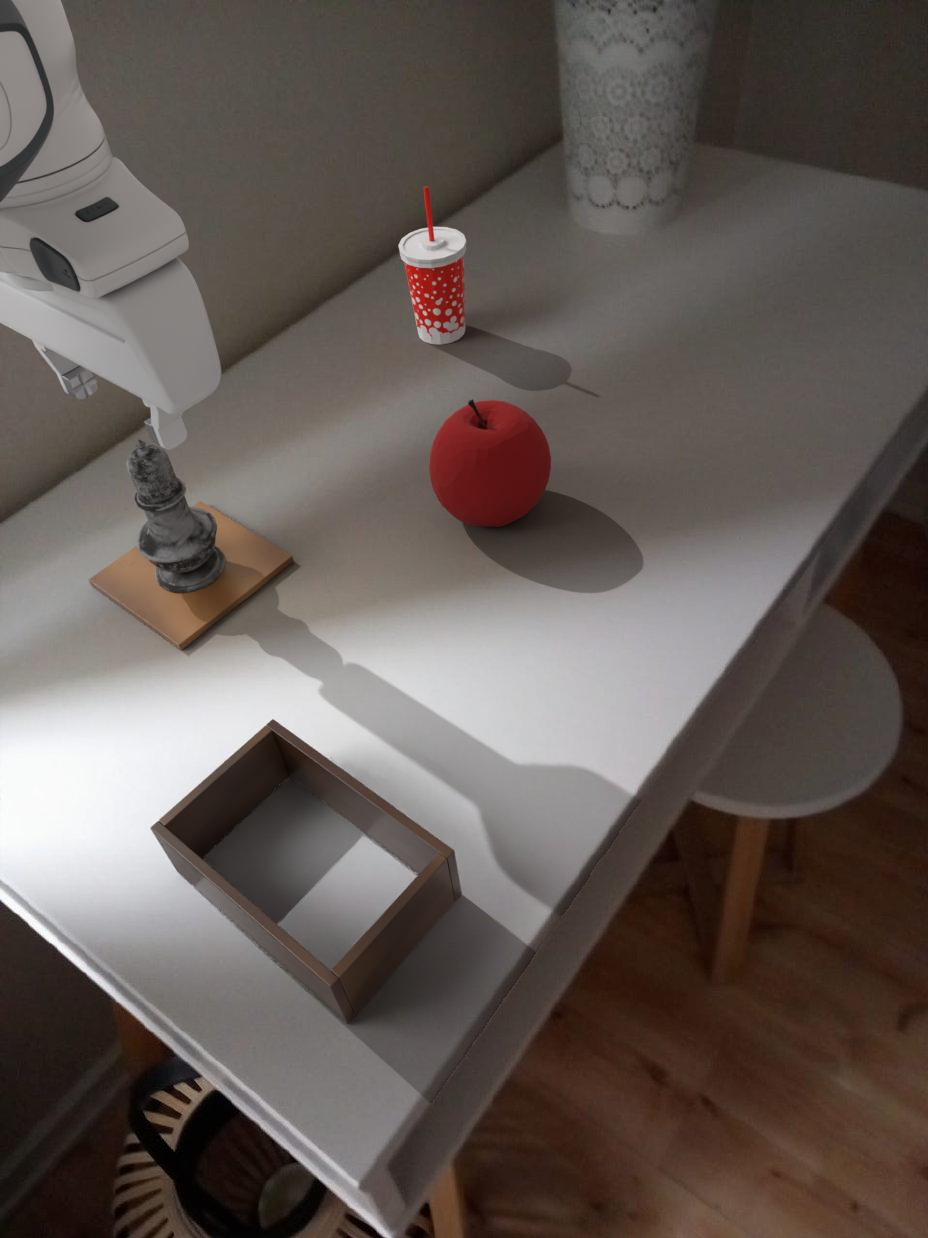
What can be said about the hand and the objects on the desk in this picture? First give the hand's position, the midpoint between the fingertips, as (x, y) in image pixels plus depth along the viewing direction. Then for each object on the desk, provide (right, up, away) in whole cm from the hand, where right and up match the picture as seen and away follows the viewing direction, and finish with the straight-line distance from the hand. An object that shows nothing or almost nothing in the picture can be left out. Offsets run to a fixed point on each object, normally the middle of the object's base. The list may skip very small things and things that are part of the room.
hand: (125, 416), depth 63 cm
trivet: (+1, -10, +11) cm, 15 cm away
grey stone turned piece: (+1, -9, +11) cm, 14 cm away
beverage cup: (+20, +15, +31) cm, 40 cm away
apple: (+24, -4, +13) cm, 28 cm away
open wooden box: (+13, -28, -7) cm, 32 cm away
